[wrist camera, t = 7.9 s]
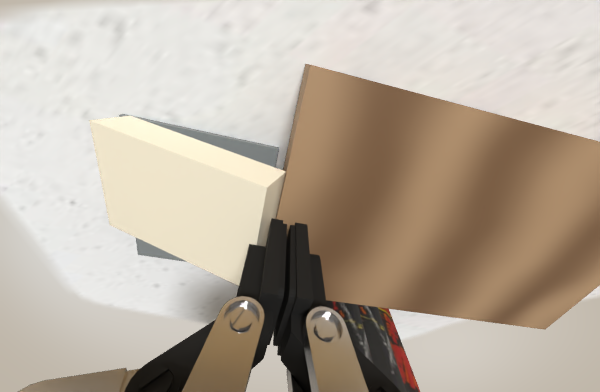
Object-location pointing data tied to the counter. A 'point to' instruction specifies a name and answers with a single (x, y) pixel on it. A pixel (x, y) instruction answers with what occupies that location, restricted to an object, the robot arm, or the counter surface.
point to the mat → (234, 145)
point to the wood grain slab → (441, 204)
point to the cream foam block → (185, 193)
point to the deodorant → (378, 341)
